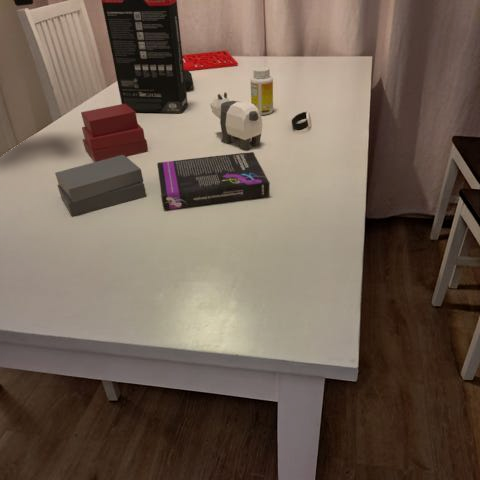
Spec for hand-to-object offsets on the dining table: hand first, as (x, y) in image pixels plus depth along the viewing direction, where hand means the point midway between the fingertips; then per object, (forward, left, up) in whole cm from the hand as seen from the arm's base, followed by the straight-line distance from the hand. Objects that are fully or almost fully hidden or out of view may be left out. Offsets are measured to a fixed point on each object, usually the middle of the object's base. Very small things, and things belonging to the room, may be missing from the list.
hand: (20, 2), depth 88 cm
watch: (+52, -20, -28) cm, 63 cm away
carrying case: (+41, +32, -28) cm, 59 cm away
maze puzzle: (+61, +54, -28) cm, 86 cm away
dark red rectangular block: (+10, -8, -23) cm, 27 cm away
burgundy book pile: (+10, -8, -28) cm, 31 cm away
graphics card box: (+28, +14, -28) cm, 42 cm away
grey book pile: (+1, -29, -28) cm, 41 cm away
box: (+20, -37, -28) cm, 51 cm away
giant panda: (+35, -19, -28) cm, 49 cm away
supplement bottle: (+50, -5, -28) cm, 58 cm away
